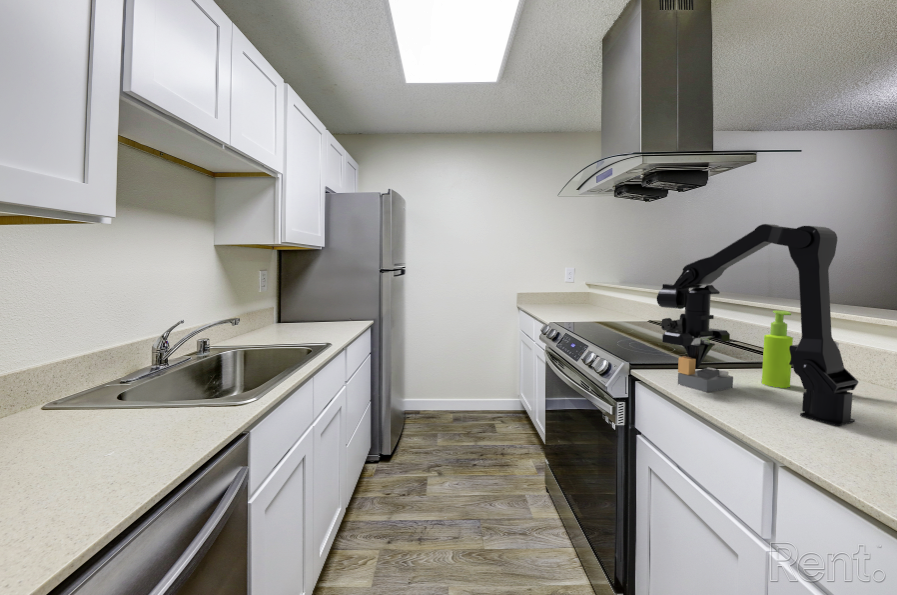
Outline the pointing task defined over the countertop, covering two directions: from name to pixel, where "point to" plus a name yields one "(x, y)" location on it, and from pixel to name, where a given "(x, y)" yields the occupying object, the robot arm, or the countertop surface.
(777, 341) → the soap dispenser
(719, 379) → the panel
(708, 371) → the block
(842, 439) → the countertop surface
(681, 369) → the orange slider
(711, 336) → the robot arm
